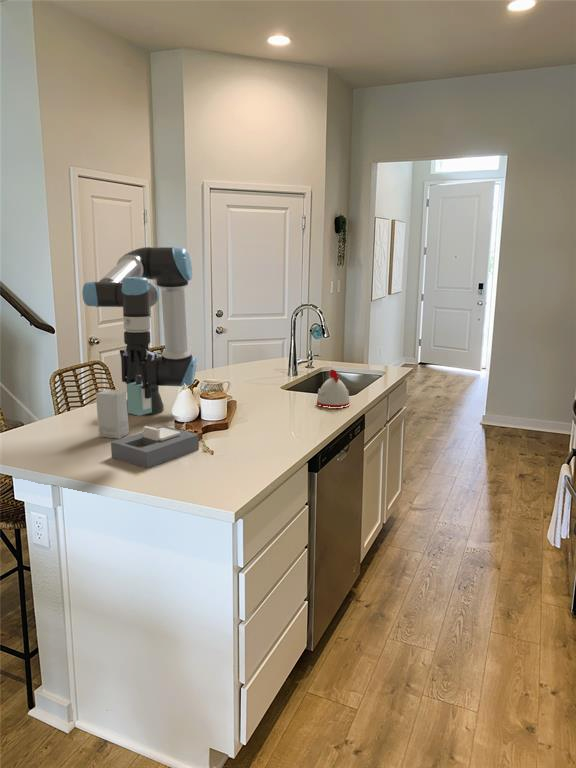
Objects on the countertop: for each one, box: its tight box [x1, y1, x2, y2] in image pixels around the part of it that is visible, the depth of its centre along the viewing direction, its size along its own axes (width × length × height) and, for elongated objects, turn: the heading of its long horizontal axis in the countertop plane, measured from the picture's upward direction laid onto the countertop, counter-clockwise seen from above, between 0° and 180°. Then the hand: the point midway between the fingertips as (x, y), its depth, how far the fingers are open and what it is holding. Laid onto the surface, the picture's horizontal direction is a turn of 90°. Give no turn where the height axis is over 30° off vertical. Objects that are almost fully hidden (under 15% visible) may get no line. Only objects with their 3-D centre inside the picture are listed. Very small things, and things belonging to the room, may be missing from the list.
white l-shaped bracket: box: [142, 425, 181, 441], centre depth 186 cm, size 8×9×3 cm
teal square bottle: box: [126, 375, 152, 417], centre depth 176 cm, size 5×5×12 cm
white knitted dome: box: [316, 369, 350, 407], centre depth 249 cm, size 14×14×15 cm
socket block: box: [110, 425, 200, 469], centre depth 185 cm, size 16×22×5 cm
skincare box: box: [95, 389, 130, 440], centre depth 201 cm, size 8×7×16 cm
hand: (139, 407), depth 177 cm, fingers closed on teal square bottle, 5 cm apart
